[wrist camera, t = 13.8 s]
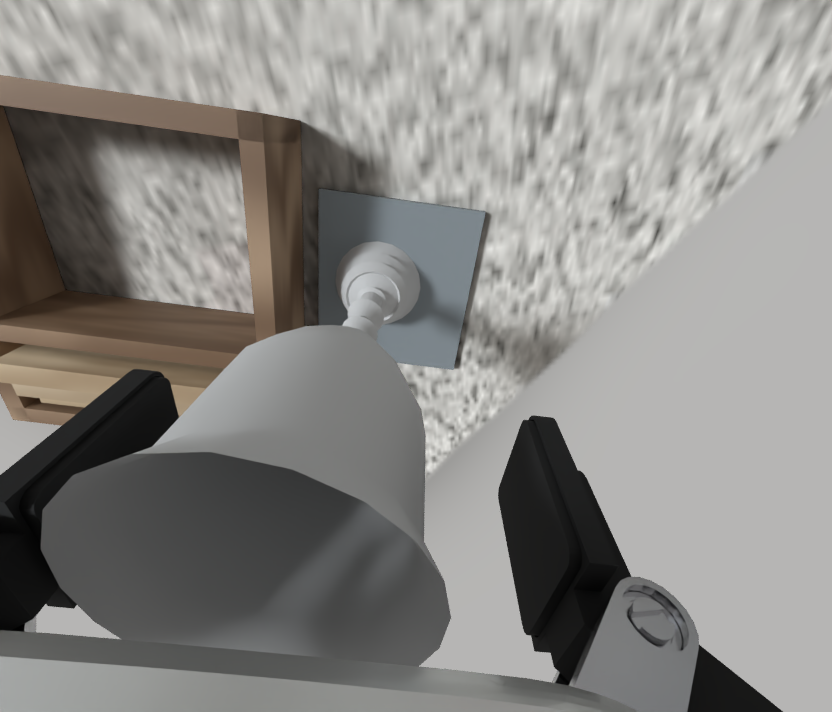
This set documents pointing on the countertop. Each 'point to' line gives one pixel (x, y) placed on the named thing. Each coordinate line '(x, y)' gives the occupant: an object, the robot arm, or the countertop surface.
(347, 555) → the chalice
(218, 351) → the frame
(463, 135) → the countertop surface
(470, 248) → the mat
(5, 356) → the offcut stack
